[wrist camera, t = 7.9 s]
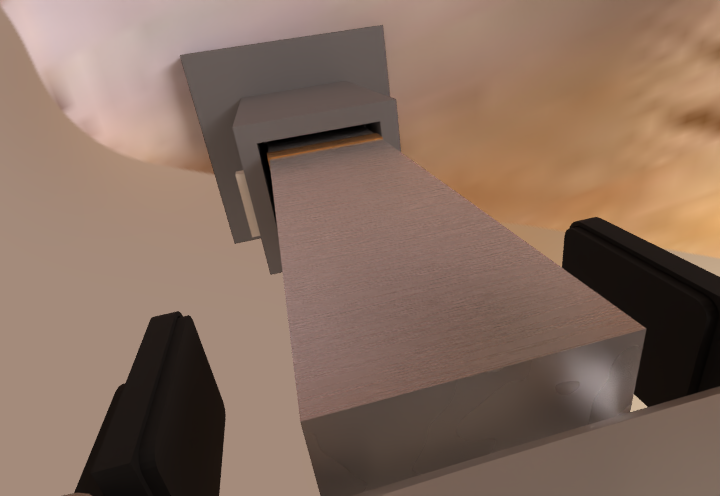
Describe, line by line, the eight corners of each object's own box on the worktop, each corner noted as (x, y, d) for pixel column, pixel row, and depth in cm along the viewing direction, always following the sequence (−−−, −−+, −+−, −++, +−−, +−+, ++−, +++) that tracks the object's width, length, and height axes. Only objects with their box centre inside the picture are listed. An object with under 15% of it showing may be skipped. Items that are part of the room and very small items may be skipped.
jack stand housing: (377, 26, 30) (459, 10, 18) (395, 202, 35) (466, 281, 23) (183, 54, 28) (129, 59, 16) (235, 235, 34) (224, 339, 22)
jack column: (351, 115, 23) (650, 324, 6) (362, 196, 25) (607, 537, 8) (264, 130, 23) (295, 420, 5) (283, 212, 25) (352, 624, 7)
